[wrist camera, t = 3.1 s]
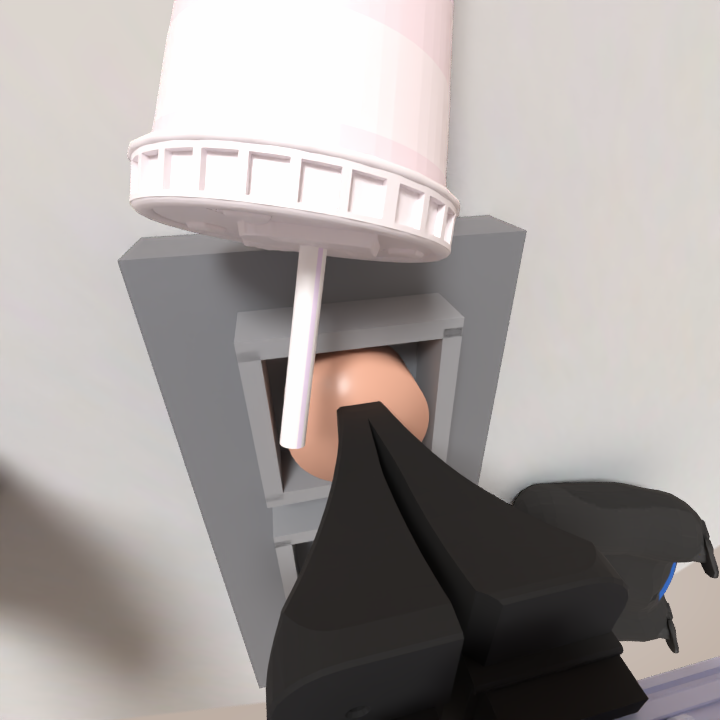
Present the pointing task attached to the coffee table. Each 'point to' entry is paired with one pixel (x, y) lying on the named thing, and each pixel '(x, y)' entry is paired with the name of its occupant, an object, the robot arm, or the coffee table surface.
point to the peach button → (356, 400)
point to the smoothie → (304, 142)
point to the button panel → (269, 370)
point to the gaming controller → (630, 543)
